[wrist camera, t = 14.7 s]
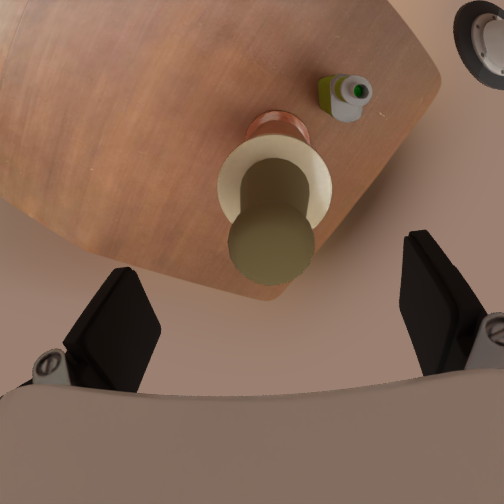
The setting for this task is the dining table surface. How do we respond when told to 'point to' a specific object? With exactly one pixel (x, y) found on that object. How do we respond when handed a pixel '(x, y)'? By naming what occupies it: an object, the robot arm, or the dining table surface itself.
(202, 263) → the dining table surface
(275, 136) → the column
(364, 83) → the vape
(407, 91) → the dining table surface
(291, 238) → the olive pawn
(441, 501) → the robot arm
